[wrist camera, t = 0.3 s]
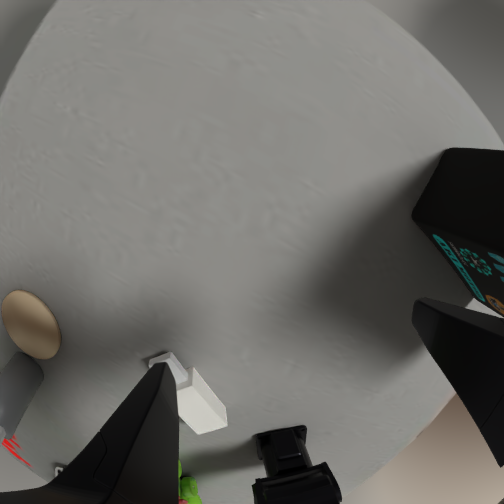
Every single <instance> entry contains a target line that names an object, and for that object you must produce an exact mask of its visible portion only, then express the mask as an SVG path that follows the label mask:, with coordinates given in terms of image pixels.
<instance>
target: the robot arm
mask: <svg viewBox="0 0 504 504" xmlns="http://www.w3.org/2000/svg"><path fill="white" fill-rule="evenodd" d="M412 323H413V326H414V327H415V329H416V331H417V332H418V334H419V336H420V337H421V339H422V341H423V343H424V344H425V346H426V348H427V350H428V351H429V353H430V354H431V356H432V357H433V359H434V360H435V362H436V363H437V364H438V366H439V367H440V369H441V370H442V372H443V373H444V375H445V376H446V378H447V379H448V381H449V382H450V383H451V385H452V387H453V388H454V390H455V391H456V393H457V394H458V396H459V397H460V399H461V400H462V402H463V404H464V405H465V407H466V408H467V410H468V412H469V413H470V415H471V416H472V418H473V420H474V421H475V423H476V425H477V426H478V428H479V429H480V432H481V434H482V435H483V437H484V439H485V440H486V442H487V444H488V446H489V448H490V450H491V452H492V453H493V455H494V457H495V459H496V461H497V463H498V465H499V466H500V467H502V466H503V465H504V318H499V317H496V316H492V315H489V314H485V313H481V312H477V311H474V310H470V309H466V308H462V307H458V306H455V305H451V304H447V303H443V302H440V301H436V300H432V299H428V298H421V299H418V300H416V301H415V303H414V307H413V313H412ZM306 434H307V428H306V426H304V425H303V426H299V427H294V428H289V429H284V430H279V431H274V432H268V433H262V434H258V435H256V443H257V451H258V458H259V459H260V460H263V462H264V466H265V470H266V475H267V477H266V478H261V479H260V478H258V479H255V480H256V483H255V484H253V485H252V489H253V494H254V504H340V502H342V495H341V491H340V488H339V485H338V483H337V481H336V479H335V477H334V476H333V474H332V472H331V470H330V468H329V467H328V465H327V463H326V462H323V463H321V464H319V465H315V466H313V465H312V462H311V460H310V457H309V454H308V452H307V449H306V446H305V443H306ZM0 504H179V414H178V403H177V390H176V381H175V378H174V376H173V374H172V372H171V369H170V367H169V365H168V363H167V362H157V363H154V364H153V365H152V367H151V368H150V369H149V370H148V372H147V373H146V374H145V375H144V376H143V378H142V379H141V380H140V381H139V383H138V384H137V385H136V386H135V387H134V389H133V390H132V391H131V392H130V394H129V395H128V396H127V397H126V398H125V400H124V401H123V402H122V403H121V405H120V406H119V407H118V408H117V409H116V411H115V412H114V413H113V414H112V416H111V417H110V418H109V419H108V421H107V422H106V423H105V424H104V425H103V427H102V428H101V429H100V432H98V433H97V434H96V435H95V436H94V438H93V439H92V440H91V441H90V442H89V443H88V445H87V446H86V447H85V448H84V449H83V450H82V451H81V452H80V453H79V454H78V455H77V457H76V458H75V459H74V460H73V461H72V462H71V463H70V464H68V465H67V466H66V467H65V468H64V469H63V470H62V471H61V472H60V473H59V474H58V475H57V476H56V477H55V478H54V479H53V480H52V481H51V482H49V483H48V484H46V485H44V486H42V487H39V488H34V489H28V490H21V491H11V492H0ZM498 504H504V498H503V499H502V500H501V501H500V502H499V503H498Z"/></svg>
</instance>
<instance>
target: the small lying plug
mask: <svg viewBox="0 0 504 504" xmlns="http://www.w3.org/2000/svg"><path fill="white" fill-rule="evenodd" d="M157 362H167V363H168V365H169V367H170V369H171V372H172V374H173V376H174V378H175V381H176V390H177V403H178V414H179V416H180V417H181V418H182V419H183V420H184V421H185V422H186V423H187V424H188V425H189V426H190V427H191V428H192V429H193V430H194V431H195V432H196V433H197V434H198V435H199V434H203V433H206V432H210V431H213V430H217V429H220V428H223V427H226V426H228V424H227V415H226V407H225V406H224V405H223V404H222V402H221V401H220V400H219V399H218V398H217V396H216V395H215V394H214V393H213V391H212V390H211V389H210V388H209V386H208V385H207V384H206V383H205V381H204V380H203V379H202V377H201V376H200V375H199V374H198V372H197V371H196V370H195V368H194V367H190V368H188V369H184V368H183V366H182V365H181V364H180V363H179V361H178V360H177V359H176V357H175V356H174V355H173V353H172V352H168V353H166V354H163V355H160V356H158V357H155V358H152V359H150V361H149V365H148V366H149V368H151V367H152V365H153V364H154V363H157Z"/></svg>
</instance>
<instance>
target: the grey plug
mask: <svg viewBox="0 0 504 504" xmlns="http://www.w3.org/2000/svg"><path fill="white" fill-rule="evenodd" d="M43 377H44V376H43V372H42V370H41V368H40V366H39V365H38V364H37V363H36V361H35V360H34V359H32V358H31V357H30V356H28V355H27V354H25V353H21V352H18V353H16V354H15V355H14V356H13V358H12V359H11V360H10V362H9V363H8V364H7V366H6V367H5V368H4V370H3V371H2V372H1V374H0V446H1V443H2V441H3V439H4V438H6V439H11V438H12V436H13V434H14V432H15V430H16V428H17V426H18V424H19V422H20V420H21V418H22V416H23V414H24V413H25V411H26V409H27V407H28V405H29V403H30V402H31V400H32V398H33V396H34V394H35V393H36V391H37V389H38V387H39V386H40V384H41V382H42V381H43Z"/></svg>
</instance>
